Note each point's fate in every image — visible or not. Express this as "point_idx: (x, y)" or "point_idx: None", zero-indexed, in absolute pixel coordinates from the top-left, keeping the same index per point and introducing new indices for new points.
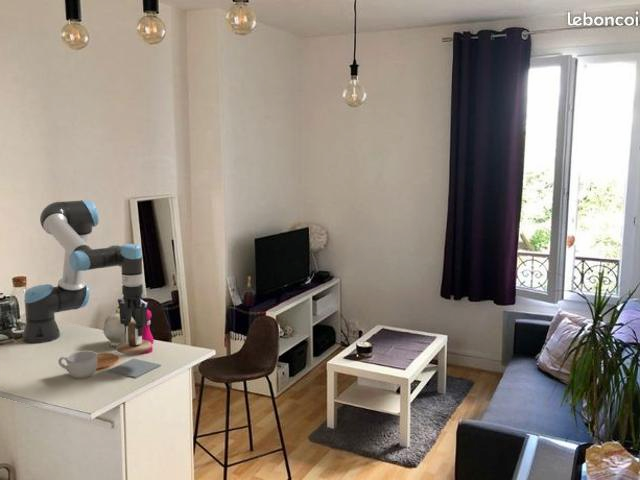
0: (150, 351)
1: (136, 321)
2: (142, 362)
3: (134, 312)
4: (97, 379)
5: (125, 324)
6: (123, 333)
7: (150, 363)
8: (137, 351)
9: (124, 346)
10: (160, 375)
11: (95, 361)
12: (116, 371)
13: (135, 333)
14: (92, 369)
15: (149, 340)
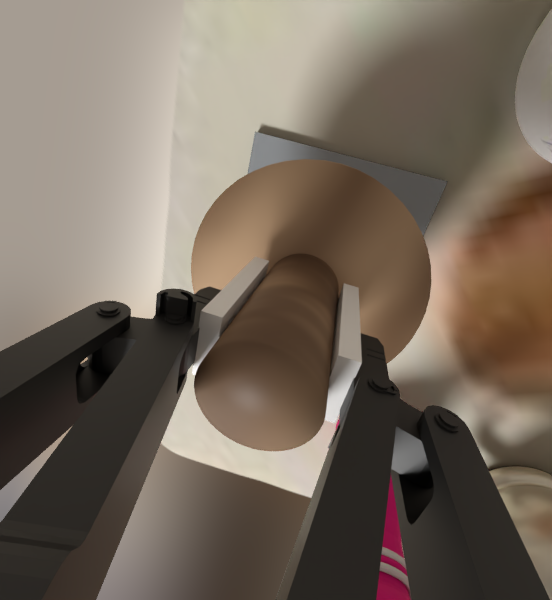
0: (337, 423)
1: (153, 364)
2: None
3: (81, 518)
4: (465, 41)
5: (369, 383)
6: None
7: None
8: (228, 190)
9: (358, 246)
10: (174, 198)
11: (545, 65)
12: (388, 172)
13: (238, 293)
14: (535, 37)
15: None
